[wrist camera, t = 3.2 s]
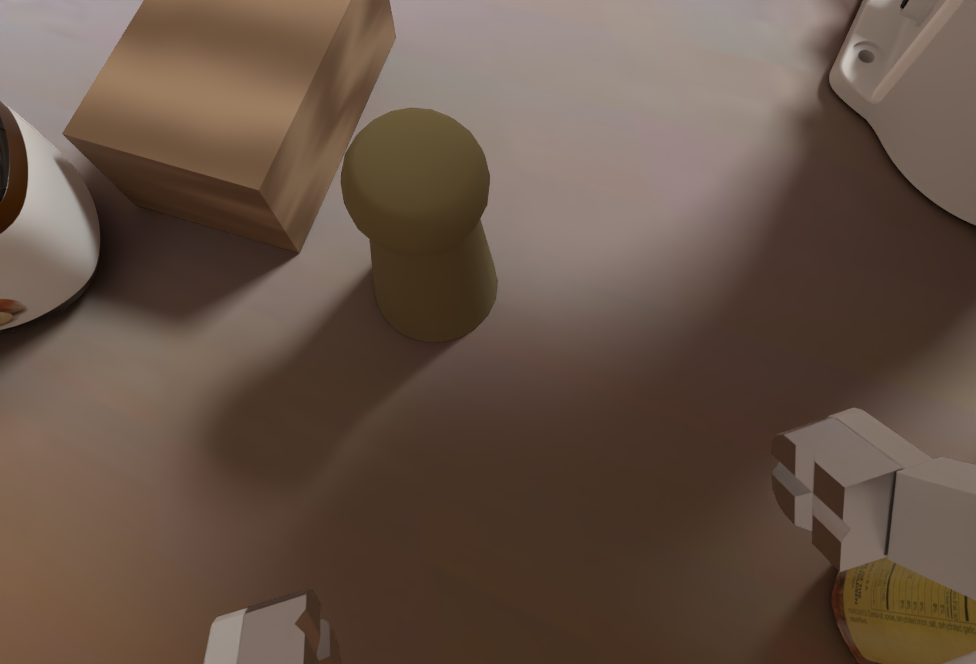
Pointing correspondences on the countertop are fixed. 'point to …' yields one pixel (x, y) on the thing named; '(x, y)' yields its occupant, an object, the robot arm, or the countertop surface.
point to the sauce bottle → (901, 616)
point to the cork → (423, 221)
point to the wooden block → (234, 108)
